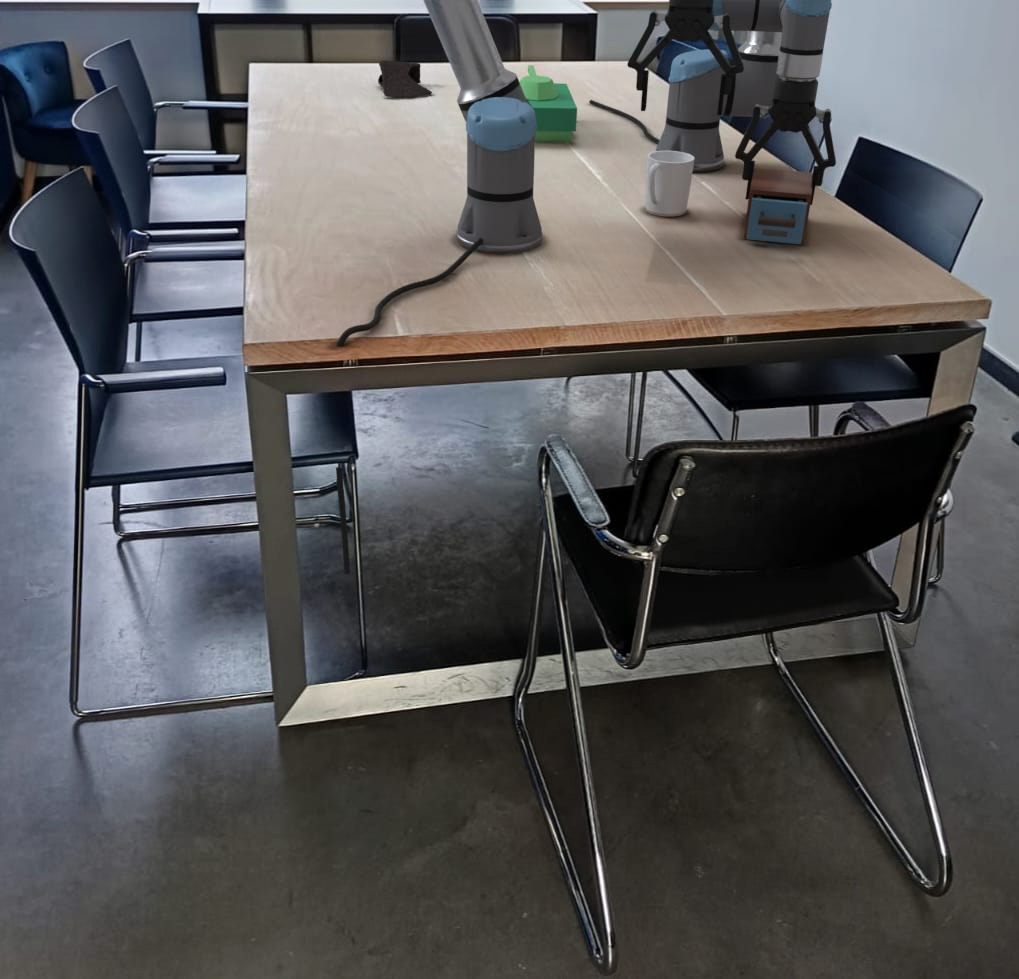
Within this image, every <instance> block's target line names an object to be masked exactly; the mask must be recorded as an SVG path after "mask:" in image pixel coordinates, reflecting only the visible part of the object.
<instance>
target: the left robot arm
mask: <svg viewBox="0 0 1019 979" xmlns="http://www.w3.org/2000/svg"><path fill="white" fill-rule="evenodd" d="M422 1H423V3H424V5H425V7H426V10H427V12H428V14H429V17H430V19H431V22H432V24H433V26H434V29H435V32H436V34H437V36H438V39H439V41H440V43H441V45H442V48H443V51H444V52H445V55H446V58H447V60H448V62H449V64H450V66H451V69H452V72H453V74H454V75H455V76H454V77H455V78H456V81H457V83H458V86H459V88H460V91H459V93H458V97H457V100H456V103H457V105H458V107H459V110H460V112H461V114H462V117H463V119H464V121H465V130H466V192H467V193H466V198H465V202H464V205H463V209H462V211H461V214H460V218H459V220H458V224H457V228H456V241H457V243H458V244H459V245H461V246H462V247H464V248H466V249H467V250H466V251H465V252H464V253H463V254H462V255H460V257H459V258H457V260H455V262H453V263H452V264H451V265H450V266H449V267H448V268H447V269H446V270H445V271H443V272H442V273H439V274H438V275H435V276H434V277H431V278H427V279H424V280H419V281H415V282H412V283H409V284H405V285H403V286H401V287H399V288H396V289H395V290H393V291H391V292H390V293H388V294H387V295H386V296H385V297H383V298H382V299H381V300H380V301H379V302H378V304H377V305H376V306H375V308H374V309H375V310H374V316H373V318H372V320H371V321H369V322H368V323H363V324H357V325H353V326H351V327H348V328H347V329H345V330H344V331H343V332H342V334H341V335H340V336H339V337H338V340H337V342H336V344H335V347H336V348H341V347H343V346H344V344H345V342H346V341H347V339H348V338H350V336H351V335H354V334H356V333H360V332H361V333H362V332H367V331H371V330H372V329H374V328H375V327H376V326H377V325H378V324H379V322H380V320H381V315H382V311H383V309H384V308H385V307H386V306H387V305H388V303H389V302H391V301H392V300H393V299H395V298H397V297H398V296H400V295H402V294H404V293H407V292H409V291H413V290H416V289H419V288H420V289H421V288H424V287H428V286H431V285H434V284H437V283H439V282H441V281H443V280H444V279H447V278H448V277H449V276H451V274H453V273H454V272H455V271H456V270H457V269H458V268H459V267H460V266H462V264H463V263H464V262H465V261H466V260H467V259H468V258H469V257H470V256H471V255H472V254H473V253H474V252H479V253H486V254H497V255H499V254H500V255H506V254H507V255H508V254H517V253H524V252H527V251H530V250H533V249H536V248H538V247H539V246H540V245H541V244H542V243H543V229H542V224H541V221H540V220H541V219H540V218H539V214H538V213H539V212H538V210H537V206H536V204H535V199H534V184H535V181H534V180H535V157H536V156H535V151H536V150H535V149H536V142H535V133H536V127H537V123H536V118H535V112H534V109H533V108H532V106H531V104H530V103H529V101H528V99H526V98H525V95H524V92H523V90H522V88H521V85H520V83H519V82H520V80H519V78H518V75H517V73H515V72H514V71H511V70H509V69H507V68H506V67H505V66H504V63H503V61H502V58H501V55H500V53H499V51H498V48H497V46H496V43H495V41H494V39H493V36H492V33H491V31H490V28H489V25H488V22H487V21H486V18H485V16H484V12H483V11H482V8H481V6H480V3H479V0H422ZM713 1H714V0H668V9H667V12H666V13H665V12H658V11H657V10H652V11H651V12H650V14H649V16H648V17H649V18H648V23H647V27H646V28H645V30H644V32H643V33H642V36H641V38H640V39H639V40H638V43H637V45H636V47H635V48H634V50H633V52H632V54H631V56H630V57H629V59H628V61H627V68H629V69H633V70H635V71H636V83H635V86H636V87H635V88H636V91H639V92H641V101H640V102H641V103H640V112H646V110H647V102H648V87H649V74H650V70H648V69H647V68H648V66H650V64H651V63H652V62H653V61H654V60H655V59H656V58H657V57H658V55H659V54H660V53H661V52H662V51H663V50H664V49H665V48H666V47H667V46H668V44H669V43H671V41H672V40H673V39H675V40H676V41H678V42H686V41H687V42H688V41H689V42H692V43H693V42H694V43H697V42H698V41H701V40H702V42H703V44H704V45H705V46H706V47H707V49H709V50H710V51H711V53H712V54H713V56H714V57H715V59H716V60H717V62H718V63H719V65H720V66H721V68H722V69H723V71H724V72H725V73H726V74H722V76H721V85H720V94H719V104H718V113H717V115H722V107H723V97H724V95H730V93H731V85H732V77H733V76H734V75H735V74H737V73H742V72H743V71H744V65H743V62H742V59H741V56H740V53H739V51H738V49H739V47H738V46H737V43H736V40H735V37H734V34H733V31H731V28H730V15H729V14H728V13H725V14H724V15H717V16H714V15H713ZM662 22H665V25H666V26H667V28H668V31H667V32H666V33H665V35H663V37H662V38H661V39H660V40H659V42H657V44H656V45H655V46H654V47H653V48H652V49H651V50H650V51H649V52H648V53H647V55H646V56H645V57H644V58H643V59H642V60H641V61H639V60H638V59H639V58H640V55H641V54H642V52H643V50H644V49H645V46H646V44H647V43H648V41H649V40H650V38H651V35H652V34H653V32H654V30H655V27H659V26H660V25H661V23H662ZM713 23H717V24H718V27H719V28H720V29H723V31H722V32H723V36H724V39H725V41H726V44H727V47H728V50H729V54H730V55H731V58H733V61H734V64H735V65H734V66H731V65H730V63H729V62H728V61H727V59H726V58H725V56H724V55H723V53H722V52H721V50H722V49H721V48H720V47H719V46H718V44H717V43H716V41H715V40H714V39H713V36H712V35H711V33H710V32H709V31H710V30H709V29H710V27H711V26H712V25H713ZM335 474H336V486H337V487H336V488H337V497H338V499H337V500H338V508H339V520H340V530H341V532H340V533H341V544H342V557H343V558H342V560H343V572H344V575H349V574H350V573H351V565H350V550H349V549H350V548H349V536H348V524H347V512H346V511H347V510H346V501H345V500H346V499H345V487H344V474H343V467H339V466H336V467H335Z"/></svg>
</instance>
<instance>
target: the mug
mask: <svg viewBox="0 0 1019 979" xmlns="http://www.w3.org/2000/svg"><path fill="white" fill-rule="evenodd" d="M693 165H694V156H692V155H690V154H688V153H684V152H678V151H655V150H654V151H651V152H649V153H648V154H646V171H645V172H646V173H645V194H644V196H645V198H644V200H645V201H644V210H645V212H647V213H648V214H651V215H654V216H659V217H668V218H669V217H671V218H672V217H679V216H683V215H684V214H686V213H687V210H688V204H689V196H690V191H691V185H692V184H691V183H692V179H693V173H694V172H693Z"/></svg>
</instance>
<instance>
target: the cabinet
mask: <svg viewBox="0 0 1019 979" xmlns="http://www.w3.org/2000/svg"><path fill="white" fill-rule="evenodd" d="M812 174H813V171H811V172H810V171H801V170H800V171H799V170H788V169H778V168H777V169H775V168H766V167H765V168H763V167H754V172H753V176H752V182H751V187H750V193H749V199H747V200H748V201H747V208H746V214H745V215H746V216H745V223H744V231H743V238H742V239H743V240H747V239H746V238H747V231H748V224H749V216H750V209H751V202H752V198H757V195H767V196H778V197H790V198H801V199H803V202H807V210H806V216H805V222H804V228H803V234H802V241H801V244H800V245H805V240H806V239H805V238H806V234H807V228H808V220H809V215H810V209H811V205H810V204H811V198H812Z"/></svg>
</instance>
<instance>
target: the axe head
mask: <svg viewBox="0 0 1019 979" xmlns="http://www.w3.org/2000/svg"><path fill="white" fill-rule="evenodd" d="M378 66H379V68H380V72H381V74H379V75H378V79H377V84H378V85H379V86H380V87H381V88H382V89H383V95H384V96H385V97H388V98H394V99H395V98H396V99H403V98H405V99H406V98H407V99H411V98H418V97H425V96H429V95H432V94H433V91H431V90H430V89H428V88H427V87H425V86H422V85H421V84H422V82H421V63H419V62H410V61H408V62H407V61H397V60H388V59H387V60H380V61H379V62H378Z"/></svg>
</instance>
